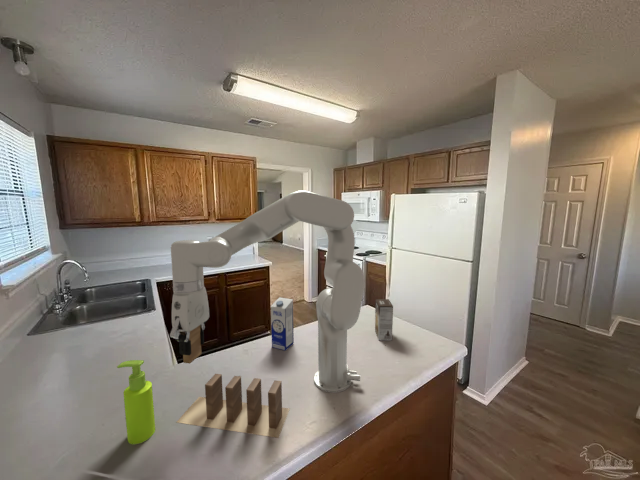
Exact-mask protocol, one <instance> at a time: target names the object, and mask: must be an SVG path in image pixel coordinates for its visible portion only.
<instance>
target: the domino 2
mask: <svg viewBox="0 0 640 480" xmlns="http://www.w3.org/2000/svg"><path fill="white" fill-rule="evenodd" d="M204 389H205V390H204V392H205V398H206V413H207V419H212V420H214V418H215V417H216V416H217V414H218V413H219V412H220V410H221V409H222V407H223V400H224V394H223V375H222V374H221V373H214V375H212V376H211V378H210V379H209V380H208V381H207V382H205V384H204Z"/></svg>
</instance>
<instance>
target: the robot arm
mask: <svg viewBox="0 0 640 480" xmlns="http://www.w3.org/2000/svg"><path fill="white" fill-rule="evenodd" d="M354 219H355V211H354V209H353V207H352V205H351V204H350V203H348V202H346V201H345V200H341V199H337V198H334V197H329V196H327V195H326V196H325V195H322V194H319V193H315V192H310V191H307V190H297V191H293V192H291V193H288V194H287V195H284V196H283V197H281V198H279V199H278V200H276V201H274V202H273V203H270V204H268V205H267V206H265V207H264V208H262V209H260V210H258V211H256V212H255V213H252V214H251V215H250V216H248V217H247V218H245V219H244V220H242V221H240V222H239V223H237V224H235V225H234V226H232V227H230V228H228V229H226V230H225V231H222V233H220V234H218V235H216V236H214V237H212V238H210V239H209V240H208V241H202V242H201V241H199V240H195V239H193V240H192V239H188V240H187V239H186V240H185V239H184V240H177V241H174V242H173V243H171V245H170V255H171V256H170V259H171V272H172V273H171V274H172V276H171V277H172V291H173V294H172V303H171V326H172V328H171V330H170V333H169V337H170V338H173V339H175V341H177V342H178V348H179V349H178V350H179V351H178V352H179V354H180V355H181V356H183V355H191V340H189V335H190V331H192V330H193V329H195V328H196V327H198V326H199V325H200V338H201V346H202V345H204V344H205V334H204V333H205V331H204V330H205V329H206V326H205V325H206V322H207V321H208V320H209V318H210V307H209V300H208V297H209V296H208V293H207V289H206V287H205V283H204V282H205V279H204V277H205V275H204V268H209V269H211V268H215V269H217V268H223V267H224V266H226V265H228V264H229V262H230V261H231V259H232V256H233V255H236V253H238V252H240V251H242V250H243V249H245V248H247V247H250V246H251V245H253V244H256V243H263V242H265V241H267V240H270V239H272V238H274V237H276V236H277V235H278V234H280V233H282V232H283V231H285V230H287V229H288V228H290V227H292V226H293V225H295V224H297V223H299V222H302V223H306V224H310V225H314V226H318V227H321V228H322V227H323V228H324V230H325V232H326V234H327V239H328V240H327V241H328V242H327V251H326V252H327V253H326V256H325V257H326V258H325V263H324V264H325V265H324V270H323V275H324V279H325V280H326V281H327V283H328V284H329V285H331V286H332V287H333V288H332V287H329V288H325V289H323V290H322V291H320V293H319V294H318V296H317V298H316V305H315V307H316V317H317V327H318V328H317V335H318V338H317V342H318V344H317V345H318V347H317V348H318V349H317V350H318V351H317V352H318V355H317V357H318V362H317V363H318V366H317V367H318V370H317V371H316V372H315V374H314V376H313V383H314V385H315V387H317V389H319V390H321V391H323V392H326V393H331V394H332V393H334V394H335V393H341V392H344V391H346V390H347V389H348V388H350V386H351V384H352V381H355V382H361V374H357V373H358V370H353V369H352V370H351V369H350V368H349V365H348V363H347V362H348V361H347V360H348V357H347V356H348V343H347V342H348V330H350V329H352V328H353V327H354V326H355V325H356V323H357V322H358V320H359V317H360V314H361V307H362V301H363V295H364V290H365V289H364V288H365V283H366V282H365V275H364V271H363V269H362V267H361V266H360V265H359V264H357V263H355V262H354V255H355V254H354V252H355V243H356V241H355V239H356V238H355V233H354V229H353V227H352V224H353V222H354ZM182 332H185V336H184V335H182Z"/></svg>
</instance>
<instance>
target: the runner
mask: <svg viewBox="0 0 640 480" xmlns="http://www.w3.org/2000/svg"><path fill="white" fill-rule="evenodd" d="M290 409H291V408H289V407H288V408H287V407H282V416H281V419H280V421H279V423H278V426H277V428H276V429H274V428H269V411H268V405H266V404H262V413H261V415H260V416H259V418H258V420H257V422H256V424H255V426H253V425H248V421H247V402H243V401H242V410H241V412H240V414H239V415H238V417H237V418H236V420H235V422H234V423H232V422H227V413H226V399H223V407H222V409H221V410H220V412H219V413H218V414H217V416H216V417H215V418H214V420H212V419H207V413H206V396H205V397H204V396H198V397H197V399H195V401H194V402H193V403H192V404H191V405H190V406H189V407H188V408H187V410H185V412H184V413H183V414H182V415H181V416H180V417H179V418H178V420H177V421H176V423H178V424H184V425H190V426H198V427H205V428H209V429H210V428H211V429H219V430H223V431H229V432H238V433H243V434H250V435H251V434H252V435H256V436H264V437H270V438H277V439H279V438H280V435H281V432H282V430H283V427H284V425H285V423H286V419H287V417H288V415H289V413H290Z"/></svg>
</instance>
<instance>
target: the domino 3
mask: <svg viewBox="0 0 640 480" xmlns="http://www.w3.org/2000/svg"><path fill="white" fill-rule="evenodd" d="M224 388H225V400H226V413H227V422H232V423H234V422H235V420H236V418H237V417H238V415H239V414H240V412H241V410H242V402H243V393H242V392H243V390H242V389H243V388H242V376H240V375H239V376H238V375H234V376H233V377H232V378H231V379H230V381H229V382H228V383H227V385H225V387H224Z"/></svg>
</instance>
